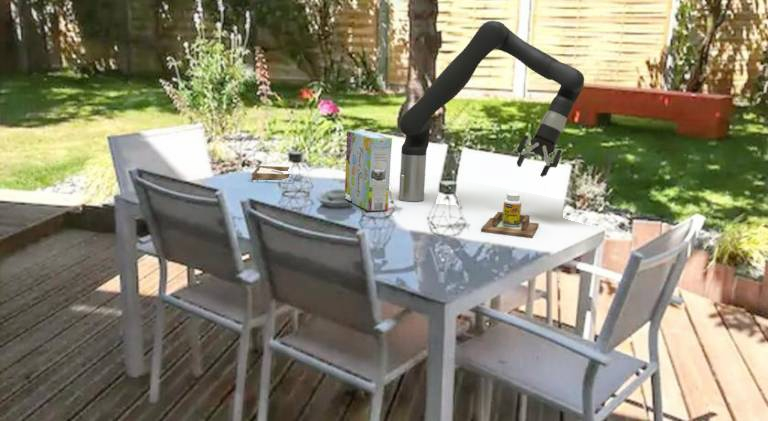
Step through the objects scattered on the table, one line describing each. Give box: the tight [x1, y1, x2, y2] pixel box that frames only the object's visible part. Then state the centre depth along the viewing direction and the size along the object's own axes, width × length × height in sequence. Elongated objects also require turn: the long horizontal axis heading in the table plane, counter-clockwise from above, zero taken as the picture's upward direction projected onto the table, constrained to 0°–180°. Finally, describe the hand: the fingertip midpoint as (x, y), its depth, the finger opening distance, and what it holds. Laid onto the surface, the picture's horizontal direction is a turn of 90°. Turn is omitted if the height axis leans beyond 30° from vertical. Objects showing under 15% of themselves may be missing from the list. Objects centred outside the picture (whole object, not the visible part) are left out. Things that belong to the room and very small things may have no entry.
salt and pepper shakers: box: [257, 167, 283, 174], centre depth 294 cm, size 12×4×11 cm
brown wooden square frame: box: [480, 211, 540, 239], centre depth 230 cm, size 16×16×4 cm
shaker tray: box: [251, 165, 290, 181], centre depth 295 cm, size 16×17×4 cm
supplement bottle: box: [502, 192, 522, 227], centre depth 229 cm, size 6×6×10 cm
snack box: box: [344, 130, 393, 212], centre depth 253 cm, size 22×9×26 cm, turn 26°
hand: (530, 171), depth 238 cm, fingers open, 8 cm apart
